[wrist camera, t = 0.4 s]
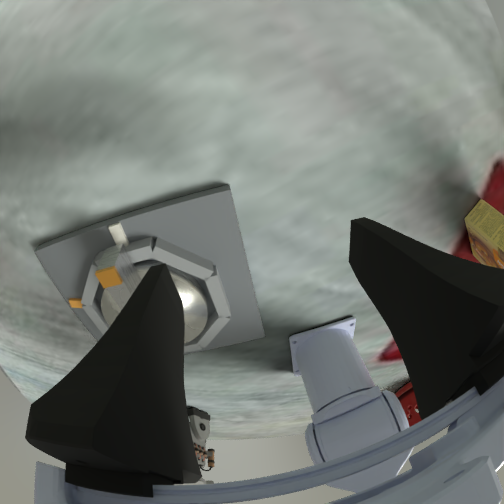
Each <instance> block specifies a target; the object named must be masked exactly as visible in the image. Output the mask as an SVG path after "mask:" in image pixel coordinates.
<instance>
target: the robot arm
mask: <svg viewBox="0 0 504 504" xmlns="http://www.w3.org/2000/svg"><path fill="white" fill-rule="evenodd" d="M349 263H350V265H351V267H352V269H353V271H354V273H355V275H356V277H357V279H358V281H359V283H360V284H361V286H362V287H363V289H364V290H365V292H366V293H367V295H368V296H369V298H370V299H371V301H372V302H373V304H374V305H375V307H376V308H377V310H378V311H379V313H380V314H381V316H382V317H383V319H384V321H385V322H386V324H387V326H388V327H389V329H390V331H391V333H392V335H393V338H394V340H395V342H396V344H397V346H398V348H399V351H400V353H401V356H402V358H403V361H404V363H405V366H406V369H407V371H408V374H409V377H410V380H411V383H412V387H413V390H414V394H415V398H416V402H417V406H418V410H419V415H420V418H421V420H422V421H420V422H418V423H416V424H414V425H413V426H411V427H409V423H408V420H407V417H406V415H405V412H404V410H403V408H402V406H401V404H400V402H399V400H398V398H397V397H396V395H395V394H394V393H393V392H391V391H388V390H384V391H382V392H381V391H380V389H379V387H378V386H375V384H374V382H373V380H372V378H371V376H370V374H369V372H368V370H367V368H366V366H365V364H364V362H363V359H362V357H361V355H360V353H359V351H358V349H357V347H356V345H355V344H354V342H353V335H354V329H355V323H356V319H355V317H350V318H347V319H344V320H341V321H338V322H335V323H332V324H329V325H325V326H322V327H319V328H316V329H312V330H309V331H305V332H302V333H299V334H295V335H292V336H290V338H289V341H290V349H291V357H292V366H293V374H294V376H300V375H301V376H302V379H303V382H304V385H305V388H306V391H307V394H308V397H309V400H310V403H311V406H312V409H313V412H314V414H313V415H311V417H312V420H313V423H310V424H308V426H307V429H306V431H305V439H306V444H307V447H308V451H309V453H310V456H311V459H312V461H313V462H314V466H310V467H306V468H303V469H299V470H295V471H291V472H287V473H282V474H278V475H272V476H267V477H262V478H256V479H250V480H244V481H235V482H227V483H217V484H202V485H174V484H189V483H197V482H198V481H199V480H200V479H201V477H202V475H201V472H200V468H199V464H198V460H197V457H196V453H195V449H194V444H193V440H192V435H191V430H190V425H189V419H188V412H187V406H186V398H185V390H184V335H185V321H184V309H183V301H182V299H181V297H180V295H179V292H178V290H177V288H176V286H175V284H174V281H173V279H172V277H171V274H170V272H169V270H168V268H167V265H166V263H164V264H160V265H156V266H151V267H150V268H149V270H148V271H147V273H146V274H145V275H144V277H143V279H142V280H141V282H140V283H139V285H138V286H137V288H136V289H135V291H134V292H133V294H132V295H131V297H130V298H129V300H128V301H127V303H126V304H125V306H124V307H123V309H122V310H121V312H120V313H119V314H118V316H117V317H116V319H115V320H114V322H113V323H112V324H111V326H110V327H109V329H108V330H107V331H106V332H105V334H104V335H103V336H102V337H101V339H100V340H99V341H98V342H97V344H96V345H95V346H94V347H93V348H92V349H91V350H90V352H89V353H88V354H87V355H86V356H85V357H84V358H83V359H82V360H81V361H80V362H79V363H78V365H77V366H76V367H75V368H74V369H73V370H72V371H71V372H69V373H68V374H67V375H66V376H65V377H64V378H63V379H62V380H61V381H60V382H59V383H58V384H56V385H55V386H54V387H53V388H52V389H51V390H49V391H48V392H47V393H45V394H44V395H43V396H42V397H40V398H39V399H38V400H36V401H35V402H34V403H32V404H31V408H30V413H29V418H28V424H27V430H26V436H25V438H26V440H27V441H28V442H29V443H30V444H31V445H33V446H34V447H36V448H37V449H39V450H41V451H43V452H45V453H46V454H48V455H50V456H52V457H54V458H56V459H58V460H61V461H63V462H65V463H66V470H65V469H62V468H59V467H56V466H52V465H49V464H45V463H42V462H39V461H38V462H36V472H35V494H34V495H35V496H34V497H35V498H34V499H35V500H34V501H35V503H34V504H222V503H233V502H242V501H250V500H257V499H263V498H269V497H275V496H279V495H285V494H289V493H293V492H297V491H302V490H306V489H309V488H313V487H316V486H320V485H324V484H326V485H328V486H330V487H334V488H338V489H343V490H347V491H352V492H355V493H356V494H353V495H350V496H347V497H345V498H341V499H338V500H336V501H332V502H329V503H326V504H501V500H502V495H503V489H502V487H501V484H500V481H499V478H498V476H497V473H496V471H497V470H498V469H499V468H500V467H501V466H502V464H503V463H504V269H501V268H496V267H491V266H487V265H483V264H479V263H475V262H472V261H468V260H465V259H462V258H459V257H456V256H453V255H450V254H448V253H445V252H442V251H440V250H437V249H435V248H432V247H430V246H428V245H425V244H423V243H421V242H419V241H416V240H414V239H412V238H410V237H408V236H406V235H403V234H401V233H399V232H397V231H395V230H393V229H391V228H389V227H387V226H384V225H382V224H380V223H378V222H376V221H373V220H371V219H368V218H365V217H363V218H359V219H354V220H351V232H350V251H349ZM449 425H450V426H449ZM448 426H449V428H448V433H447V434H446V435H445V436H443V437H442V438H440V439H438V440H437V441H436V442H434V443H432V444H431V445H429V446H428V447H426V448H424V449H423V450H421V451H419V452H418V453H416V454H414V455H413V456H411V457H410V458H409V456H410V454H411V453H412V451H413V447H414V446H416V445H418V444H420V443H422V442H423V441H425V440H427V439H428V438H430V437H432V436H433V435H435V434H437V433H438V432H440V431H442V430H443V429H445V428H446V427H448ZM408 458H409V461H410V463H411V466H412V469H410V470H408V471H406V472H404V473H402V474H400V475H398V473H399V471H400V469H401V468H402V466H403V465H404V464H405V462H406V460H407V459H408ZM397 475H398V476H397Z"/></svg>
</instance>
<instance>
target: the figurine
mask: <svg viewBox="0 0 504 504" xmlns="http://www.w3.org/2000/svg"><path fill="white" fill-rule="evenodd" d="M187 412H188V416H189V418H190V422H189V425H190V430H191V435H192V440H193V444H194V449H195V453H196V457H197V460H198V464H199V468H201V469H202V468H204V466H205V459H207V458H208V467H210V469H209V470H211V468H212V467H214V449H208V451H205V443H206V439H207V438H208V437H209V432H210V425H209V421H210V415H208V413H207V412H206V413H205V412H204V411H202V412H200V411H199V409H196V408H195V407H194V408H191V409H189V410H187ZM202 470H204V469H202ZM209 470H205V471H209ZM202 484H214V482H213V481H205V480H204V479H203V478H202V477H201V479H200V480H199V481H198V482H197V483H189V484H174V485H202Z"/></svg>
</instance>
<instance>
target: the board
mask: <svg viewBox="0 0 504 504" xmlns="http://www.w3.org/2000/svg"><path fill="white" fill-rule="evenodd" d="M122 243H123V244H124V246H125V248H126V250H127V252H128V254H129V256H130V258H131V260H132V262H133V263H136V262H139V261H146V260H149V261H160V262H163V263H166V264H167V265H170V266H172V267H174V268H177V269H179V270H181V271H184V272H186V273H189V274H190V275H192V276H193V277H194V278H195V279H196V280H197V281H198V282H199V284H200V285H201V286H202V288H203V290H204V292H205V295H206V301H207V313H208V315H207V322H206V325H205V327H204V329H203V330H202V332H201V333H200V334H199V335H198V336H197V337H196V338H194V339H193V340H191V341H189V342H187V343H185V344H184V354H190V353H195V352H200V351H206V350H211V349H215V348H220V347H225V346H229V345H234V344H238V343H243V342H247V341H251V340H255V339H259V338H264V337H265V333H264V329H263V324H262V320H261V316H260V312H259V308H258V304H257V299H256V295H255V291H254V287H253V283H252V279H251V274H250V270H249V266H248V262H247V257H246V253H245V249H244V245H243V241H242V236H241V232H240V228H239V223H238V219H237V215H236V211H235V206H234V202H233V198H232V193H231V189H230V186H229V185H225V186H221V187H217V188H213V189H209V190H205V191H201V192H197V193H194V194H190V195H186V196H183V197H179V198H175V199H172V200H168V201H165V202H162V203H158V204H155V205H152V206H148V207H145V208H142V209H138V210H135V211H132V212H129V213H126V214H123V215H120V216H117V217H114V218H111V219H108V220H105V221H102V222H99V223H96V224H93V225H91V226H88V227H85V228H82V229H80V230H77V231H74V232H71V233H69V234H66V235H64V236H61V237H58V238H56V239H53V240H51V241H48V242H46V243H43V244H41V245H39V246H38V247H37V249H36V250H35V254H36V255H37V257H38V259H39V261H40V262H41V264H42V265H43V267H44V269H45V270H46V272H47V273H48V275H49V277H50V278H51V280H52V281H53V283H54V284H55V286H56V287H57V289H58V290H59V292H60V293H61V294H62V296H63V297H64V299H65V300H66V302H67V303H68V304H69V306H70V307H71V308H72V310H73V311H74V312H75V314H76V315H77V316H78V318H79V319H80V320H81V321H82V323H83V324H84V325H85V327H86V328H87V329H88V330H89V331H90V333H91V334H92V335H93V336H94V338H95V339H96V340H97V341H99V340H100V339H101V337H102V336H103V335H104V334H105V332H106V331H107V330H108V329H109V327H110V326H109V325H108V323H107V322H106V320H105V318H104V316H103V313H102V310H101V299H102V295H103V292H104V289H105V288H103V286H102V285H101V283H100V282H99V280H98V278H97V277H96V275H95V272H96V270H97V268H98V265H99V263H100V261H101V258H102V256H103V254H104V252H105V250H106V248H109V247H112V246H115V245H119V244H122Z"/></svg>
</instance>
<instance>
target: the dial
mask: <svg viewBox="0 0 504 504" xmlns="http://www.w3.org/2000/svg"><path fill="white" fill-rule="evenodd" d="M160 264H164V263H163V262H160V261H149V260H146V261H139V262H136V263H133V262H132V260H131V258H130V256H129V254H128V252H127V250H126V248H125V246H124V244H123V243H122V244H119V245H115V246H112V247H109V248H106V250H105V252H104V254H103V256H102V258H101V261H100V263H99V265H98V268H97V270H96V272H95V275H96V277H97V278H98V280H99V282H100V283H101V285H102V286H103V288H105V289H104V292H103V295H102V299H101V310H102V313H103V316H104V318H105V320H106V322H107V323H108V325H109V326H111V324H112V323H113V322H114V320H115V319H116V317H117V316H118V314H119V313H120V312H121V310H122V309H123V307H124V306H125V304H126V303H127V301H128V300H129V298H130V297H131V295H132V294H133V292H134V291H135V289H136V288H137V286H138V285H139V283H140V282H141V280H142V279H143V277H144V275H145V274H146V273H147V271H148V270H149V268H150V267H151V266H156V265H160ZM166 265H167V264H166ZM167 268H168V270H169V272H170V274H171V277H172V279H173V281H174V284H175V286H176V288H177V290H178V292H179V295H180V297H181V299H182V301H183V309H184V321H185V335H184V344H185V343H187V342H189V341H191V340H193V339H194V338H196V337H197V336H198V335H199V334H200V333H201V332H202V330H203V329H204V327H205V325H206V322H207V315H208V313H207V301H206V295H205V292H204V290H203V288H202V286H201V285H200V284H199V282H198V281H197V280H196V279H195V278H194V277H193V276H192V275H190V274H189V273H186V272H184V271H181V270H179V269H177V268H174V267H172V266H170V265H167Z"/></svg>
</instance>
